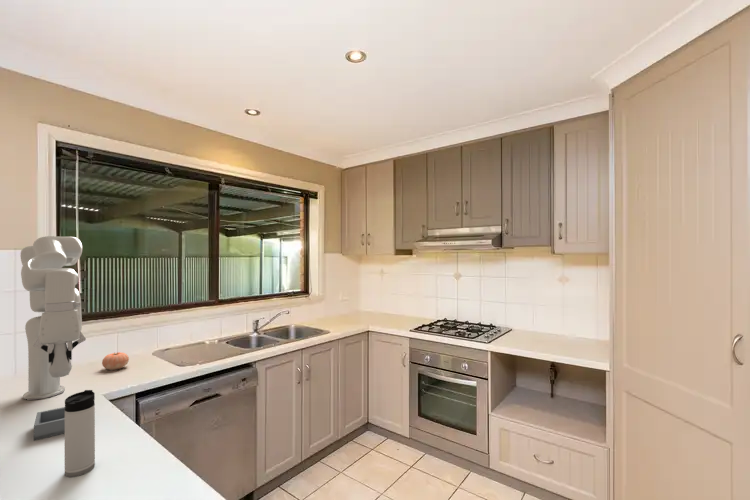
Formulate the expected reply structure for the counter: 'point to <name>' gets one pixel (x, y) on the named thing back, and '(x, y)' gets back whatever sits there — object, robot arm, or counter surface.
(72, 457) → the travel mug
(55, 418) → the box
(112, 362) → the orange pumpkin
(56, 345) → the salt shaker
